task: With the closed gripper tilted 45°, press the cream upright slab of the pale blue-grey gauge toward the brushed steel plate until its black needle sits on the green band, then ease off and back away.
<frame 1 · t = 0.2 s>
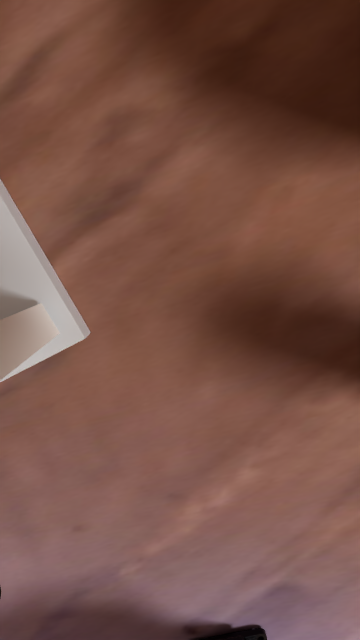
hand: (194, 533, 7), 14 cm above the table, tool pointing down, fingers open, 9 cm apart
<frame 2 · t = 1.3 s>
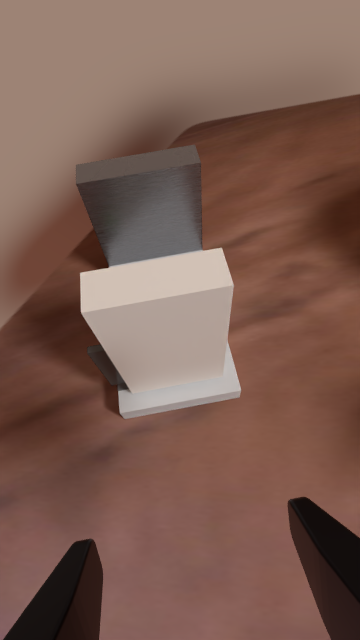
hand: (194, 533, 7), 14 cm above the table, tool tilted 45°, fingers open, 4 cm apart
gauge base: (167, 322, 26), on the table
brushed steel plate: (147, 212, 24), on the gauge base, point 6 cm above the table
cream upright slab: (152, 321, 18), point 7 cm above the table, slide at 0.0 cm
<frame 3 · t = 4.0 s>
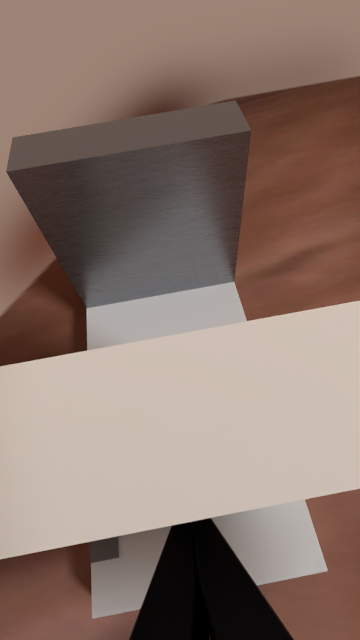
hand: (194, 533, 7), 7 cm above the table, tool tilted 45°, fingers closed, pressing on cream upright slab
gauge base: (179, 403, 16), on the table
brushed steel plate: (146, 224, 14), on the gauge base, point 6 cm above the table
cream upright slab: (152, 430, 8), point 7 cm above the table, slide at 1.2 cm, touching gripper
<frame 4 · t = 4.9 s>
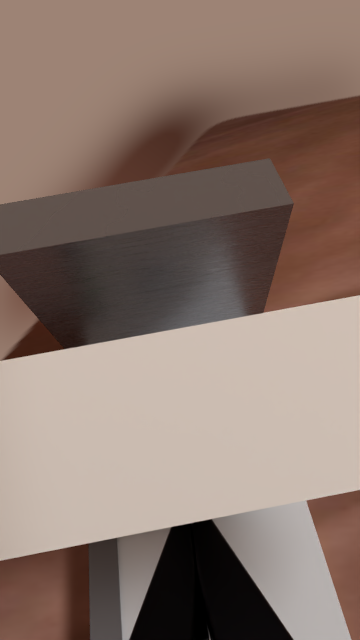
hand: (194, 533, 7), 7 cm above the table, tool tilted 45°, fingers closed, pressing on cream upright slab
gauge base: (194, 491, 14), on the table
brushed steel plate: (157, 291, 12), on the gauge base, point 6 cm above the table
cream upright slab: (151, 428, 8), point 7 cm above the table, slide at 5.1 cm, touching gripper
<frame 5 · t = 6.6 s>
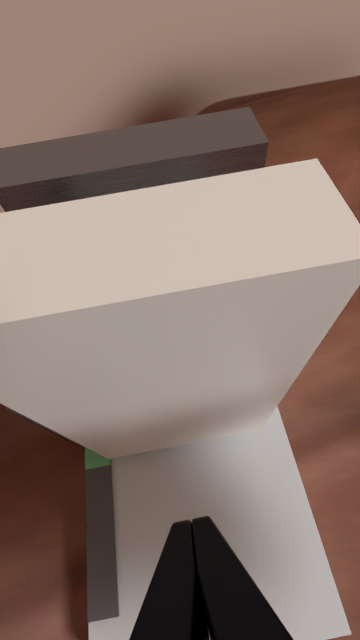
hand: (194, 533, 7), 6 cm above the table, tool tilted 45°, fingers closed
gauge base: (184, 432, 15), on the table
brushed steel plate: (148, 241, 13), on the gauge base, point 6 cm above the table
cream upright slab: (139, 341, 9), point 7 cm above the table, slide at 5.2 cm
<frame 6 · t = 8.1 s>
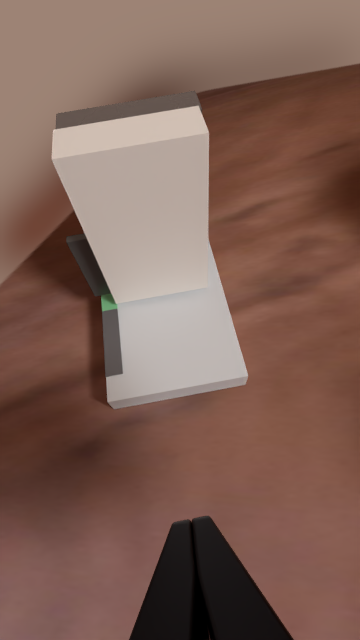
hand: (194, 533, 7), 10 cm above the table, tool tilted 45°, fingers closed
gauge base: (163, 301, 23), on the table
brushed steel plate: (140, 175, 21), on the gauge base, point 6 cm above the table
cream upright slab: (134, 214, 18), point 7 cm above the table, slide at 5.2 cm
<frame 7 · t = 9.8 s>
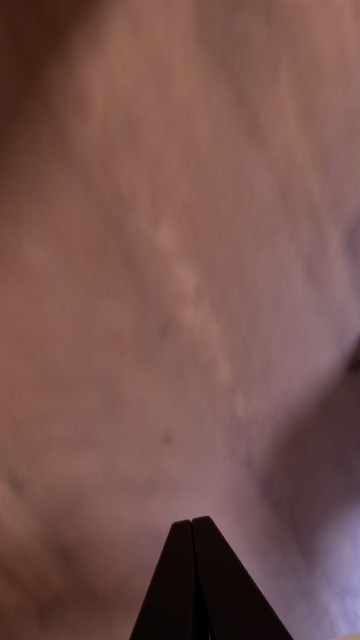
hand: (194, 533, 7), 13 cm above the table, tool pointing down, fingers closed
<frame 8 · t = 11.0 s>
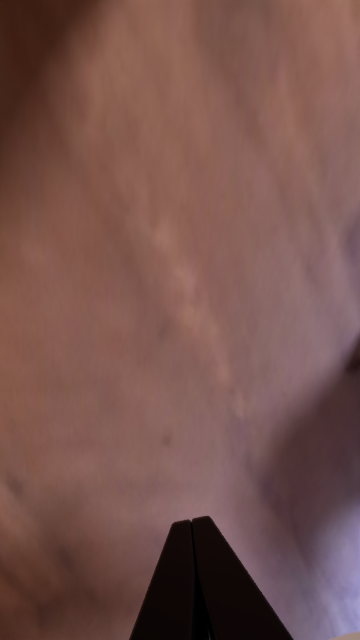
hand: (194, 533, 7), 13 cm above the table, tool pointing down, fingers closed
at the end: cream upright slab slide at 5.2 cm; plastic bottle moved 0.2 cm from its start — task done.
